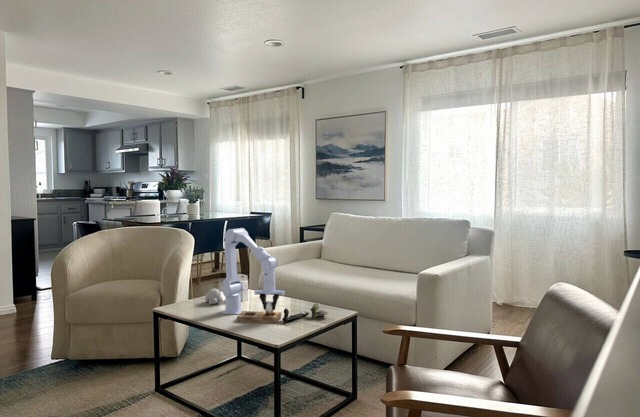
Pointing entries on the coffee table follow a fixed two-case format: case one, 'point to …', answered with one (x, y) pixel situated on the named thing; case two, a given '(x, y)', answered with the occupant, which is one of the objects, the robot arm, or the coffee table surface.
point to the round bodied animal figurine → (213, 296)
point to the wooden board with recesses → (258, 317)
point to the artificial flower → (313, 309)
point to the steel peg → (269, 308)
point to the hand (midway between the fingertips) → (269, 309)
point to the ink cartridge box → (244, 287)
